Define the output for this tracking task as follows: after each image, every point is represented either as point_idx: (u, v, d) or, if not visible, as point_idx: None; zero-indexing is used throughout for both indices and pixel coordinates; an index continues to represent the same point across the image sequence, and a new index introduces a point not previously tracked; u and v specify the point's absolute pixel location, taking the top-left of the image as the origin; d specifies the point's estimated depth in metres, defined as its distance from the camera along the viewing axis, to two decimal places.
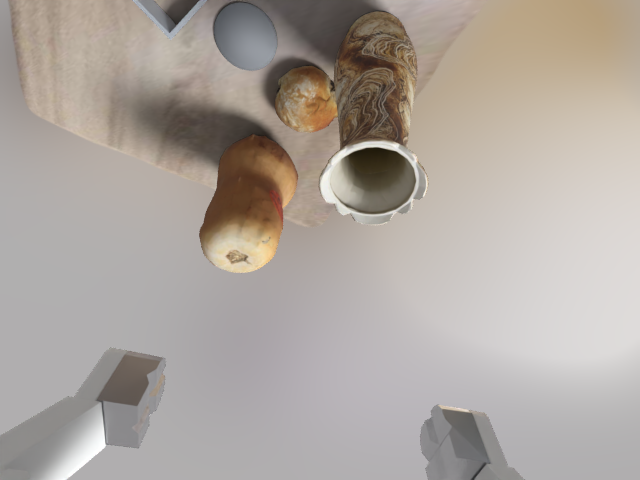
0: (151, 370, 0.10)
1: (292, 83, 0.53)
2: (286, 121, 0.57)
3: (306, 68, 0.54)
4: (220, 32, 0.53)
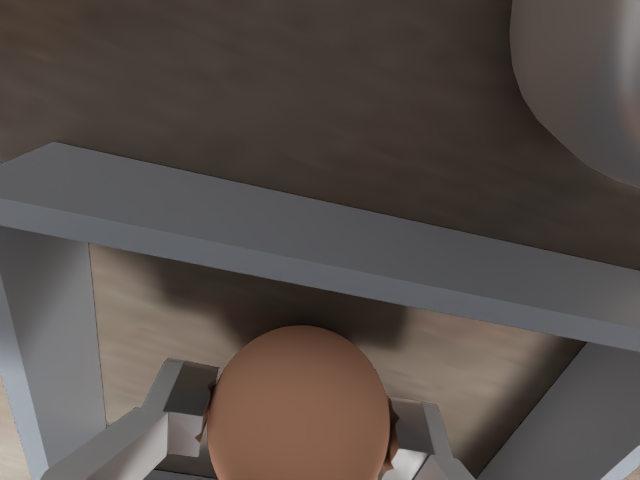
0: (210, 381, 0.10)
1: None
2: None
3: None
4: None
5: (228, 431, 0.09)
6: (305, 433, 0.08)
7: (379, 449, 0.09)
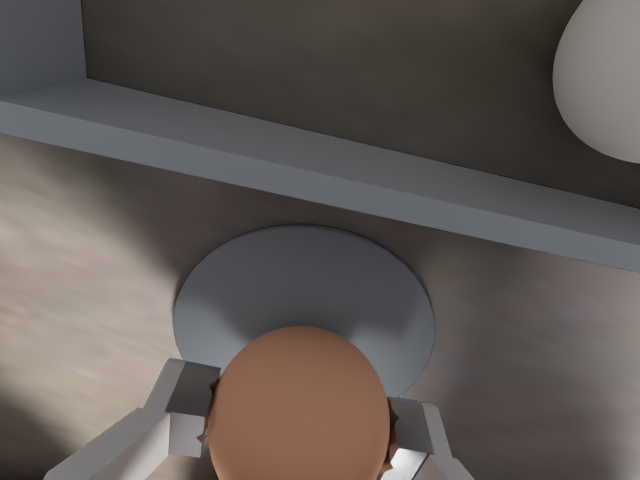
0: (212, 381, 0.10)
1: None
2: None
3: None
4: (247, 265, 0.11)
5: (228, 431, 0.09)
6: (306, 433, 0.08)
7: (379, 450, 0.09)
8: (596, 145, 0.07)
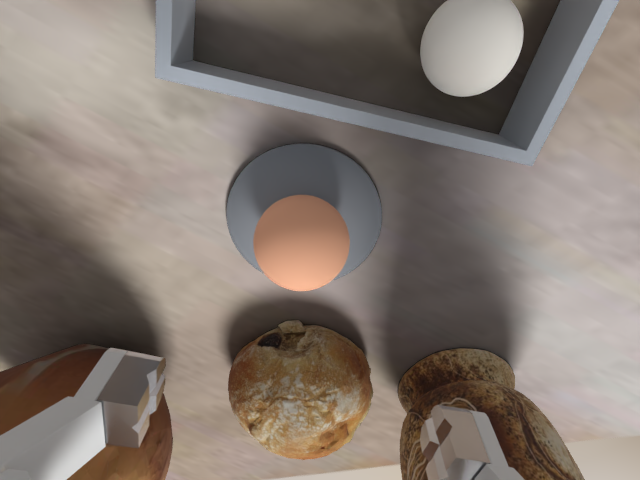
0: (151, 370, 0.10)
1: (330, 381, 0.23)
2: (249, 419, 0.23)
3: (357, 355, 0.25)
4: (272, 168, 0.20)
5: (266, 230, 0.18)
6: (304, 226, 0.17)
7: (341, 244, 0.18)
8: (438, 87, 0.16)
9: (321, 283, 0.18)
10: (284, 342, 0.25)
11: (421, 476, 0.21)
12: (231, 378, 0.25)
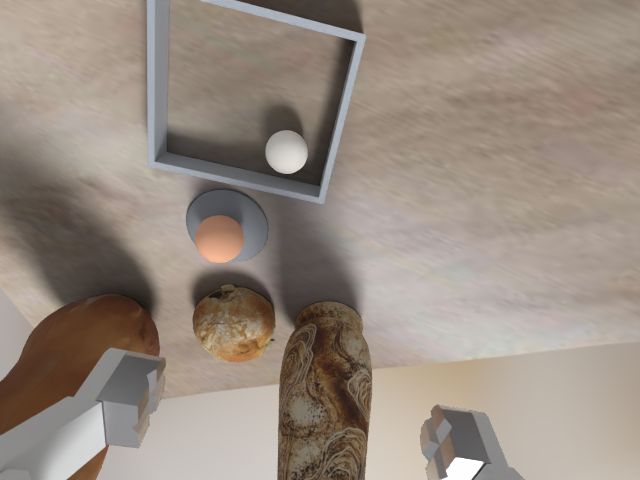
0: (150, 371, 0.10)
1: (243, 314, 0.42)
2: (201, 335, 0.43)
3: (264, 304, 0.45)
4: (208, 201, 0.40)
5: (198, 232, 0.37)
6: (214, 230, 0.37)
7: (234, 240, 0.37)
8: None
9: (225, 258, 0.38)
10: (223, 295, 0.45)
11: (284, 360, 0.41)
12: (193, 315, 0.45)
